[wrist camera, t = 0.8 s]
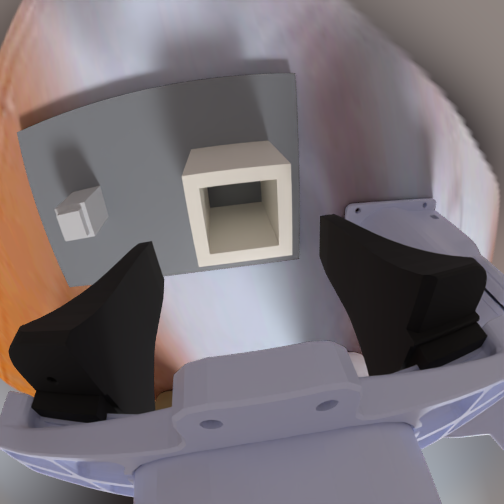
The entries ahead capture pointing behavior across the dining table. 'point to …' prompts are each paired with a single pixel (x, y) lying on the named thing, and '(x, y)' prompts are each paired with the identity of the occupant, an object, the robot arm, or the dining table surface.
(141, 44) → the dining table surface
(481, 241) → the dining table surface
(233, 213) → the sleeve
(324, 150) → the dining table surface
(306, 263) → the dining table surface
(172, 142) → the base plate
